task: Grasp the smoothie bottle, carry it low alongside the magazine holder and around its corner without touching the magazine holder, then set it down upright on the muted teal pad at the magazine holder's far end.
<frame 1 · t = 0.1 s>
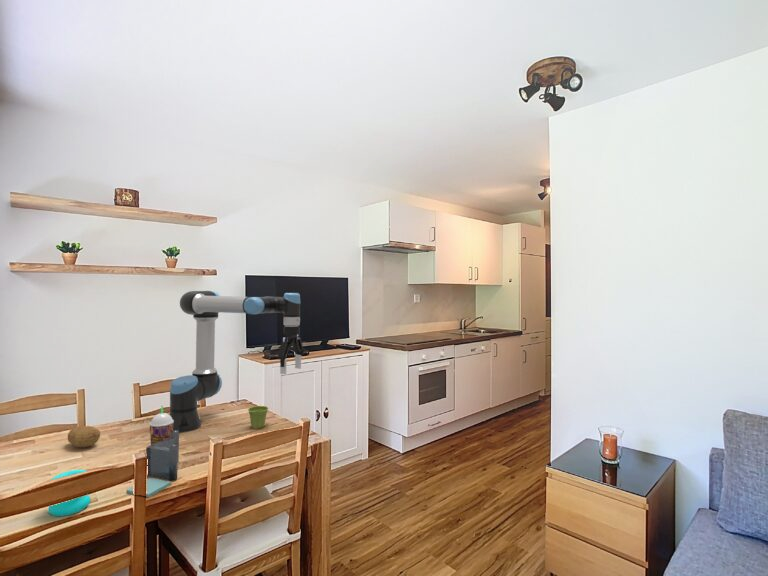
hand: (290, 371, 192), 28 cm above the table, fingers open, 13 cm apart
pad: (149, 488, 135), on the table
plant pot: (257, 427, 197), on the table
smoothie: (161, 457, 160), on the table
donuts: (69, 509, 122), on the table
magazine holder: (150, 474, 145), on the table
potato: (83, 446, 169), on the table
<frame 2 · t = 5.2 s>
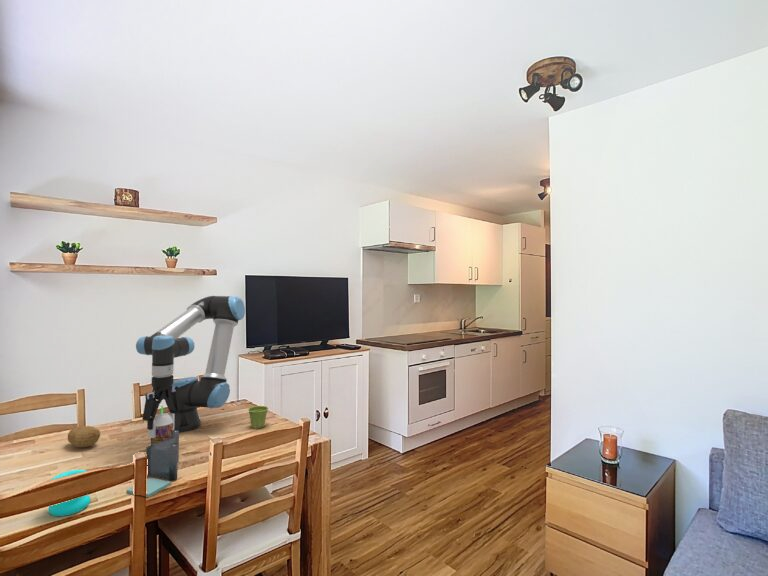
hand: (161, 433, 160), 9 cm above the table, fingers closed on smoothie, 8 cm apart
smoothie: (161, 457, 160), on the table, touching gripper
everything else where it was.
when the fingers open (11 cm above the table, at t = 16.0 s): smoothie stays where it is, resting on pad.
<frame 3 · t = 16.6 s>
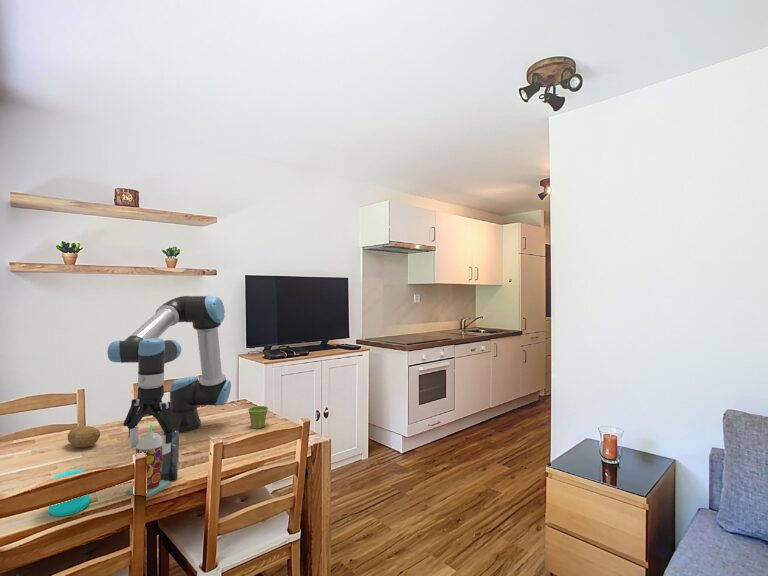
hand: (149, 450, 135), 13 cm above the table, fingers open, 13 cm apart
smoothie: (149, 486, 135), point 1 cm above the table, touching pad
everything else where it was.
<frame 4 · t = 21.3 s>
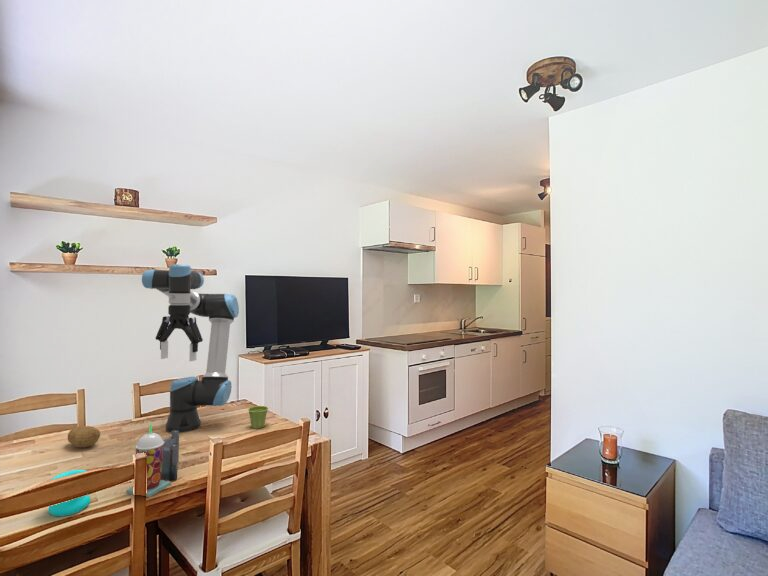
hand: (178, 359, 158), 39 cm above the table, fingers open, 13 cm apart
nothing on the table moved.
at the end: smoothie 0.1 cm from the pad (horizontally); smoothie tilted 0°; smoothie touching pad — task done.
